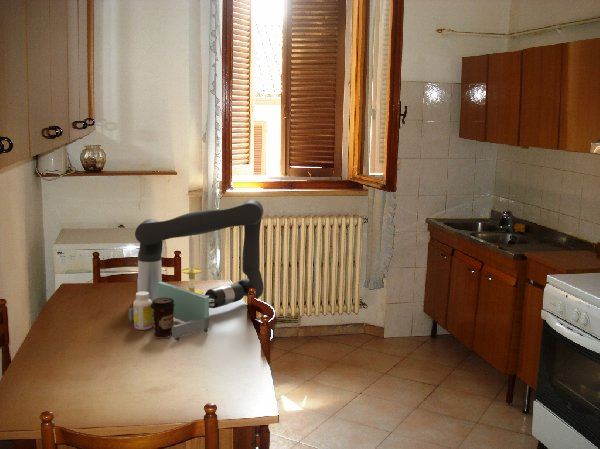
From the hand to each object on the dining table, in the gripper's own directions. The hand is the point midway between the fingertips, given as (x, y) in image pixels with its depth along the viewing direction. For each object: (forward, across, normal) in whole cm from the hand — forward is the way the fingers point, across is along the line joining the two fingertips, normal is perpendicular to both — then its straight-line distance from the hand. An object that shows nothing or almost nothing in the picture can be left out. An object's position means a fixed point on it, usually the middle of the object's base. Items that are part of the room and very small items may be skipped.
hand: (184, 305), depth 252 cm
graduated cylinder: (-26, -28, +7) cm, 39 cm away
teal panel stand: (+8, 0, +6) cm, 10 cm away
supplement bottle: (+14, -6, +7) cm, 17 cm away
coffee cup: (+14, +6, +7) cm, 16 cm away
